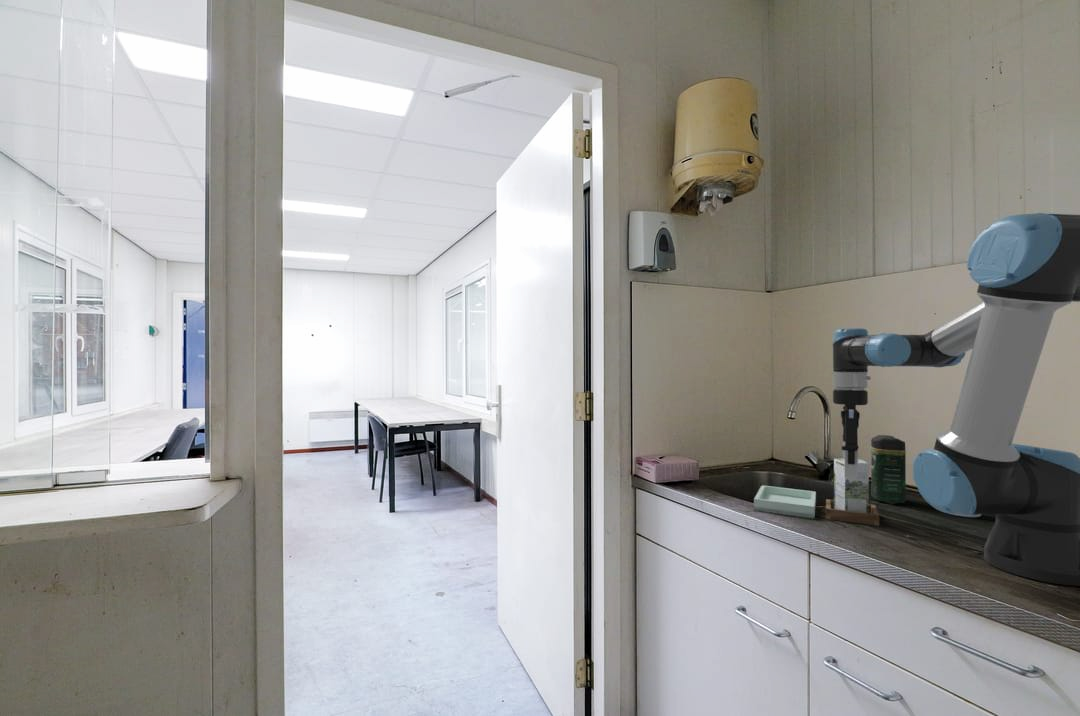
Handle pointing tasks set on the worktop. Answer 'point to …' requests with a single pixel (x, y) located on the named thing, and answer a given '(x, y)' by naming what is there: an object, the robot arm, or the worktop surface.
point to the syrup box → (851, 487)
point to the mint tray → (786, 501)
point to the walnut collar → (852, 514)
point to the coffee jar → (888, 469)
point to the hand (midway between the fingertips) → (849, 472)
